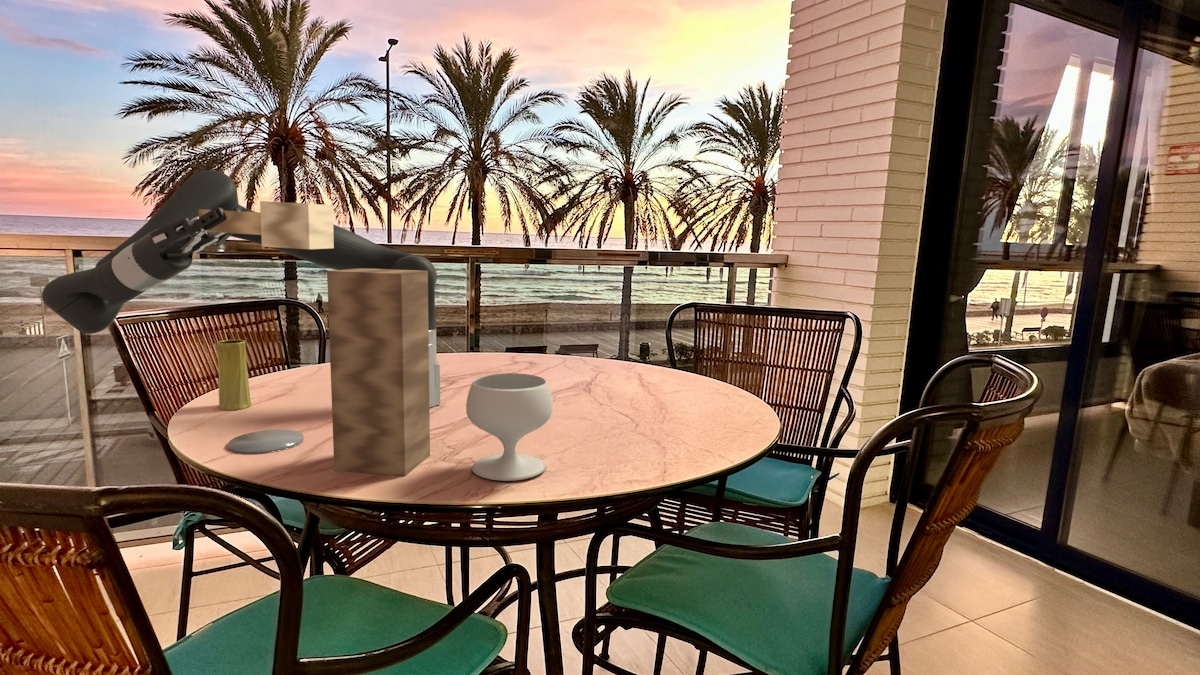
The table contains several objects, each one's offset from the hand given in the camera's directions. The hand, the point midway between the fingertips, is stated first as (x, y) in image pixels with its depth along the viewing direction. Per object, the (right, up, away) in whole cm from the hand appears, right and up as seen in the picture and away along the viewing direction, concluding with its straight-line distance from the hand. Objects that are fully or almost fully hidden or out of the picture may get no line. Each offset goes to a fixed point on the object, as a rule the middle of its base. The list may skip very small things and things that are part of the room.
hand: (231, 213), depth 103 cm
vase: (-18, -35, +33) cm, 52 cm away
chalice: (+45, -42, +2) cm, 62 cm away
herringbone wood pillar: (+24, -41, +3) cm, 48 cm away
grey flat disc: (0, -39, +11) cm, 41 cm away
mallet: (+5, -5, 0) cm, 7 cm away
